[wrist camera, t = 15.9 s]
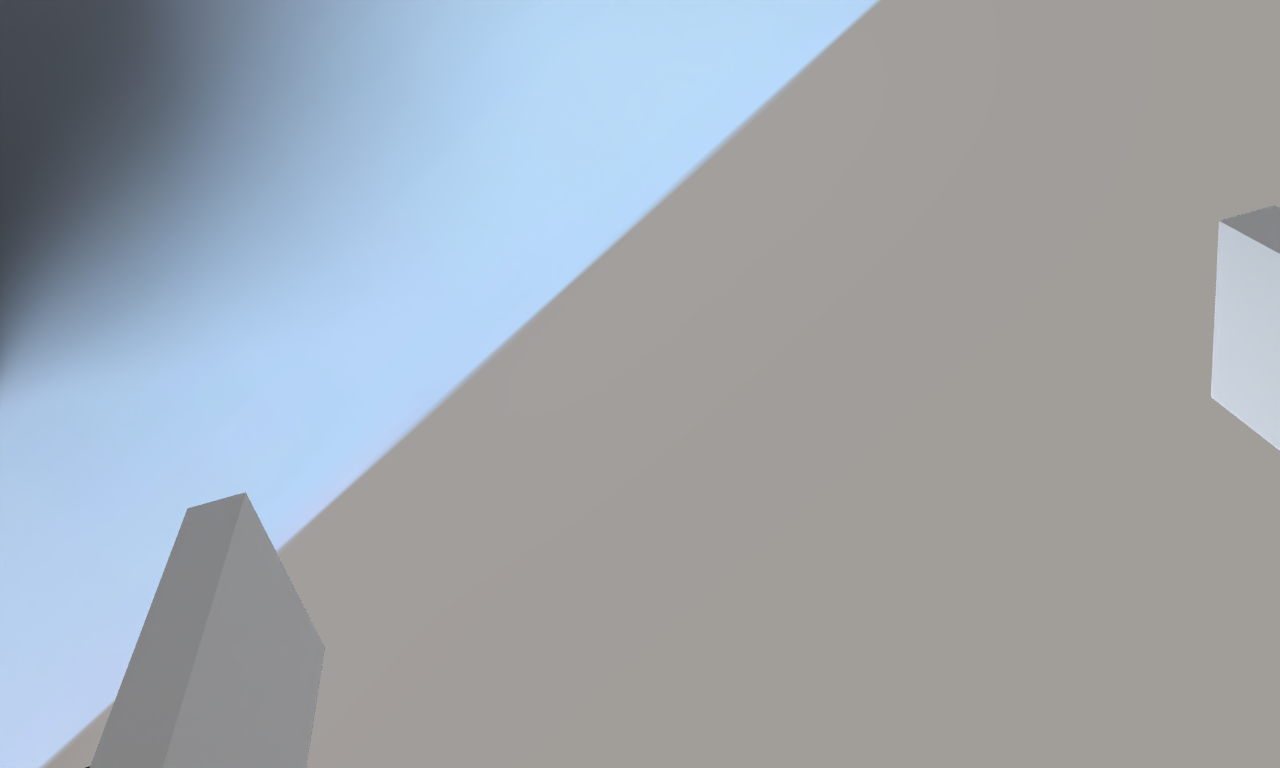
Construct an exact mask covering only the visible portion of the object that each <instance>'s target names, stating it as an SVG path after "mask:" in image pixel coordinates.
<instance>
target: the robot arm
mask: <svg viewBox="0 0 1280 768" xmlns="http://www.w3.org/2000/svg"><path fill="white" fill-rule="evenodd" d="M1218 234H1219V235H1218V255H1217V276H1216V300H1215V319H1214V340H1213V362H1212V384H1211V397H1212V398H1213V399H1214V400H1216V401H1217V402H1218V403H1220V404H1221V405H1222V406H1223V407H1225V408H1226V409H1227V410H1228V411H1230V412H1231V413H1232V414H1234V415H1235V416H1236V417H1237V418H1239V419H1240V420H1241V421H1243V422H1244V423H1245V424H1247V425H1248V426H1249V427H1250V428H1252V429H1253V430H1254V431H1255V432H1257V433H1258V434H1259V435H1261V436H1262V437H1263V438H1264V439H1266V440H1267V441H1268V442H1269V443H1271V444H1272V445H1273V446H1274V447H1276V448H1277V449H1278V450H1280V208H1279V207H1277V206H1275V205H1274V206H1271V207H1267V208H1264V209H1260V210H1256V211H1253V212H1250V213H1246V214H1242V215H1238V216H1235V217H1231V218H1228V219H1224V220H1221V221H1219V233H1218ZM324 649H325V647H324V645H323V643H322V641H321V639H320V637H319V635H318V633H317V631H316V629H315V627H314V625H313V623H312V621H311V619H310V617H309V615H308V613H307V612H306V609H305V608H304V606H303V604H302V602H301V600H300V598H299V596H298V594H297V592H296V590H295V588H294V586H293V584H292V582H291V580H290V578H289V576H288V574H287V572H286V570H285V568H284V566H283V564H282V562H281V561H280V559H279V557H278V555H277V553H276V551H275V549H274V547H273V545H272V543H271V541H270V539H269V537H268V535H267V533H266V531H265V529H264V527H263V525H262V523H261V521H260V519H259V517H258V516H257V514H256V512H255V510H254V508H253V506H252V504H251V502H250V500H249V498H248V496H247V494H246V492H245V493H242V494H238V495H235V496H231V497H228V498H224V499H220V500H217V501H213V502H210V503H206V504H202V505H199V506H195V507H192V508H188V509H187V512H186V514H185V517H184V520H183V522H182V525H181V527H180V530H179V533H178V535H177V538H176V541H175V543H174V546H173V549H172V551H171V554H170V557H169V559H168V562H167V565H166V567H165V570H164V572H163V575H162V578H161V580H160V583H159V586H158V588H157V591H156V594H155V596H154V599H153V602H152V604H151V607H150V609H149V612H148V615H147V617H146V620H145V623H144V625H143V628H142V631H141V633H140V636H139V639H138V641H137V644H136V647H135V649H134V652H133V654H132V657H131V660H130V662H129V665H128V668H127V670H126V673H125V676H124V678H123V681H122V684H121V686H120V689H119V691H118V694H117V697H116V699H115V702H114V705H113V707H112V710H111V713H110V715H109V718H108V721H107V723H106V726H105V729H104V731H103V734H102V737H101V739H100V742H99V744H98V747H97V750H96V752H95V755H94V758H93V760H92V763H91V766H90V767H86V768H306V767H307V760H308V753H309V747H310V741H311V734H312V728H313V721H314V715H315V708H316V702H317V695H318V688H319V682H320V675H321V669H322V662H323V656H324Z"/></svg>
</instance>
